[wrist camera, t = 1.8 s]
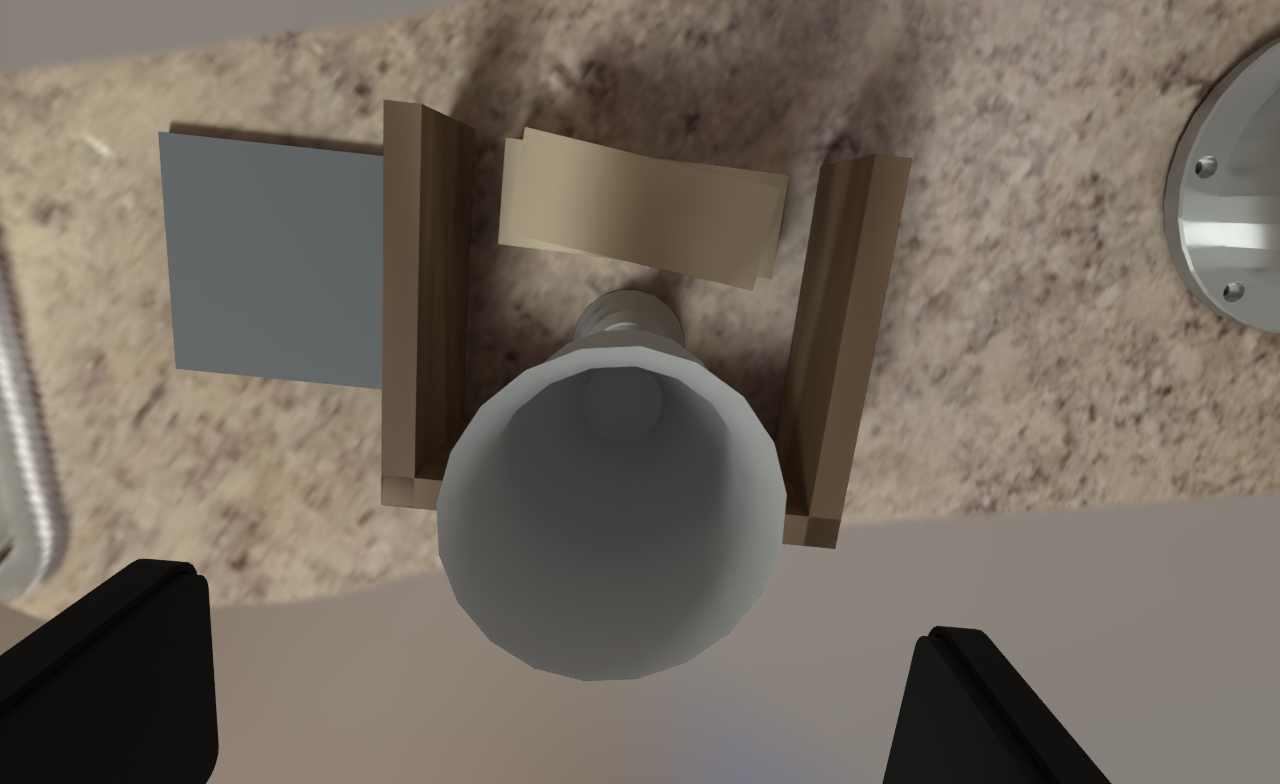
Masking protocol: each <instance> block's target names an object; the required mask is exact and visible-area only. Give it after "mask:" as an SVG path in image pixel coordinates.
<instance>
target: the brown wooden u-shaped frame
mask: <svg viewBox="0 0 1280 784" xmlns="http://www.w3.org/2000/svg"><path fill="white" fill-rule="evenodd" d="M473 143H474V128H472V127H470V126H468V125H465V124H463V123H461V122H459V121H457V120H455V119H453V118H450V117H448V116H446V115H444V114H442V113H440V112H438V111H436V110H433V109H431V108H429V107H427V106H425V105H423V104H417V103H408V102H399V101H390V100H384V137H383V308H382V479H381V505H386V506H396V507H406V508H417V509H427V510H437V500H438V496H439V493H440V489H441V485H442V482H443V478H444V475H445V471H446V467H447V464H448V460H449V457H450V453H451V451H452V450H453V448H454V446H455V445H456V443H457V442H458V440H459V439H460V437H461V436H462V434H463V433H464V431H465V430H466V428H467V427H468V425H469V424H470V422H471V421H463V404H464V378H465V352H466V326H467V300H468V274H469V247H470V221H471V195H472V169H473ZM911 162H912V158H905V157H896V156H887V155H878V154H875V155H870V156H866V157H861V158H857V159H853V160H848V161H844V162H839V163H835V164H831V165H826V166H822V167H821V169H820V175H819V181H818V187H817V193H816V199H815V205H814V211H813V217H812V223H811V229H810V235H809V241H808V247H807V253H806V260H805V266H804V272H803V278H802V284H801V290H800V296H799V302H798V308H797V314H796V320H795V326H794V332H793V338H792V344H791V351H790V357H789V363H788V369H787V375H786V381H785V387H784V393H783V399H782V405H781V411H780V417H779V423H778V429H777V435H776V442H775V448H776V452H777V457H778V461H779V465H780V469H781V473H782V477H783V481H784V486H785V490H786V494H787V497H786V508H785V518H784V529H783V539H782V544H790V545H800V546H801V545H802V546H811V547H821V548H831V549H835V547H836V542H837V537H838V532H839V527H840V522H841V517H842V512H843V507H844V501H845V496H846V491H847V486H848V481H849V476H850V471H851V466H852V461H853V456H854V451H855V446H856V441H857V436H858V431H859V426H860V420H861V415H862V410H863V405H864V400H865V395H866V390H867V385H868V380H869V375H870V370H871V365H872V360H873V355H874V350H875V344H876V339H877V334H878V329H879V324H880V319H881V314H882V309H883V304H884V299H885V294H886V289H887V284H888V279H889V274H890V268H891V263H892V258H893V253H894V248H895V243H896V238H897V233H898V228H899V223H900V218H901V213H902V208H903V203H904V198H905V193H906V187H907V182H908V177H909V172H910V167H911Z"/></svg>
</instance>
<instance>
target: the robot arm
mask: <svg viewBox="0 0 1280 784" xmlns="http://www.w3.org/2000/svg"><path fill="white" fill-rule="evenodd" d="M1164 221H1165V235H1166V239H1167V243H1168V247H1169V251H1170V255H1171V259H1172V261H1173V263H1174V265H1175V267H1176V269H1177V271H1178V273H1179V275H1180V277H1181V279H1182V281H1183V282H1184V284H1185V285H1186V286H1187V287H1188V288H1189V290H1190V291H1191V292H1192V293H1193V294H1194V296H1195V297H1196V298H1197V299H1198V300H1199V301H1200V302H1201V303H1203V304H1204V305H1205V306H1206V307H1208V308H1209V309H1210V310H1212V311H1213V312H1214V313H1216V314H1217V315H1219V316H1221V317H1223V318H1225V319H1228V320H1230V321H1232V322H1234V323H1237V324H1239V325H1242V326H1246V327H1251V328H1255V329H1259V330H1264V331H1268V332H1276V333H1280V37H1278V38H1276V39H1274V40H1272V41H1270V42H1268V43H1266V44H1265V45H1264V46H1262V47H1261V48H1260V49H1258V50H1257V51H1255V52H1254V53H1253V54H1251V55H1250V56H1248V57H1247V58H1246V59H1244V60H1243V61H1241V62H1240V63H1239V64H1238V65H1237V66H1236V67H1235V68H1234V69H1233V70H1232V71H1231V72H1230V73H1229V74H1228V75H1227V76H1226V77H1224V78H1223V79H1222V80H1221V81H1220V82H1219V83H1218V84H1217V85H1216V86H1215V87H1214V89H1213V90H1212V91H1211V93H1210V94H1209V95H1208V97H1207V98H1206V99H1205V101H1204V102H1203V103H1202V105H1201V106H1200V107H1199V109H1198V110H1197V111H1196V113H1195V114H1194V116H1193V118H1192V120H1191V121H1190V123H1189V125H1188V127H1187V129H1186V131H1185V133H1184V135H1183V137H1182V138H1181V140H1180V142H1179V144H1178V147H1177V150H1176V153H1175V156H1174V159H1173V162H1172V165H1171V168H1170V171H1169V174H1168V180H1167V187H1166V193H1165V200H1164ZM218 748H219V745H218V729H217V713H216V698H215V682H214V666H213V650H212V635H211V619H210V603H209V588H208V582H207V580H206V578H205V577H204V576H202V575H197V571H196V569H195V568H194V566H193V565H192V564H190V563H188V562H179V561H167V560H155V559H138V560H136V561H134V562H132V563H130V564H129V565H128V566H126V567H125V568H123V569H122V570H121V571H119V572H118V573H116V574H115V575H114V576H112V577H111V578H109V579H108V580H106V581H105V582H104V583H102V584H101V585H99V586H98V587H97V588H95V589H94V590H92V591H91V592H89V593H88V594H87V595H85V596H84V597H82V598H81V599H80V600H78V601H77V602H75V603H74V604H72V605H71V606H70V607H68V608H67V609H65V610H64V611H63V612H61V613H60V614H58V615H57V616H55V617H54V618H53V619H51V620H50V621H48V622H47V623H46V624H44V625H43V626H41V627H40V628H39V629H37V630H36V631H34V632H33V633H31V634H30V635H29V636H27V637H26V638H24V639H23V640H22V641H20V642H19V643H17V644H16V645H15V646H13V647H12V648H10V649H9V650H7V651H6V652H5V653H3V654H2V655H0V784H206V783H207V781H208V779H209V778H210V776H211V774H212V772H213V770H214V767H215V764H216V761H217V757H218ZM883 784H1111V783H1110V781H1109V780H1108V779H1107V778H1106V777H1105V776H1104V774H1103V773H1102V772H1101V771H1100V769H1099V768H1098V767H1097V766H1096V765H1095V764H1094V762H1093V761H1092V760H1091V759H1090V758H1089V756H1088V755H1087V754H1086V753H1085V752H1084V750H1083V749H1082V748H1081V747H1080V746H1079V744H1077V742H1076V741H1075V740H1074V739H1073V737H1072V736H1071V735H1070V734H1069V733H1068V731H1067V730H1066V729H1065V728H1064V727H1063V726H1062V724H1061V723H1060V722H1059V721H1058V720H1057V718H1056V717H1055V716H1054V715H1053V714H1052V712H1051V711H1050V710H1049V709H1048V708H1047V706H1046V705H1045V704H1044V703H1043V702H1042V700H1041V699H1040V698H1039V697H1038V696H1037V694H1036V693H1035V692H1034V691H1033V690H1032V688H1031V687H1030V686H1029V685H1028V684H1027V683H1026V681H1025V680H1024V679H1023V678H1022V677H1021V675H1020V674H1019V673H1018V672H1017V671H1016V669H1015V668H1014V667H1013V666H1012V665H1011V663H1010V662H1009V661H1008V660H1007V659H1006V658H1005V656H1004V655H1003V654H1002V653H1001V652H1000V650H999V649H998V648H997V647H996V646H995V644H994V643H993V642H992V641H991V640H990V638H989V637H988V636H987V635H986V634H985V633H984V632H982V631H981V630H977V629H967V628H956V627H955V628H954V627H943V626H936V627H934V628H933V629H932V630H931V631H930V633H929V635H928V636H922V637H920V638H919V639H918V640H917V642H916V645H915V649H914V653H913V657H912V662H911V666H910V670H909V675H908V678H907V683H906V687H905V691H904V696H903V700H902V704H901V708H900V712H899V716H898V721H897V725H896V729H895V734H894V738H893V742H892V746H891V750H890V754H889V759H888V763H887V767H886V771H885V775H884V780H883Z"/></svg>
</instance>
